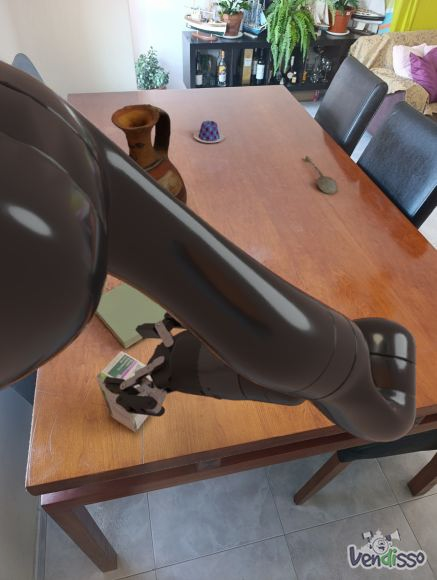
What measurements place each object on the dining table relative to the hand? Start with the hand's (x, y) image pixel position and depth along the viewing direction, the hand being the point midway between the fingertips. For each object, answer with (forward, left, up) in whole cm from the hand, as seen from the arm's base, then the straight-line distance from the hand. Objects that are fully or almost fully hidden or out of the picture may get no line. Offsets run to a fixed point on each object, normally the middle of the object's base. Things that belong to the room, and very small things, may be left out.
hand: (124, 356), depth 52 cm
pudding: (+82, +76, -20) cm, 113 cm away
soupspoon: (+92, +32, -20) cm, 100 cm away
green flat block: (+15, +21, -20) cm, 32 cm away
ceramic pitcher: (+37, +49, -20) cm, 64 cm away
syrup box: (0, +2, -20) cm, 20 cm away
